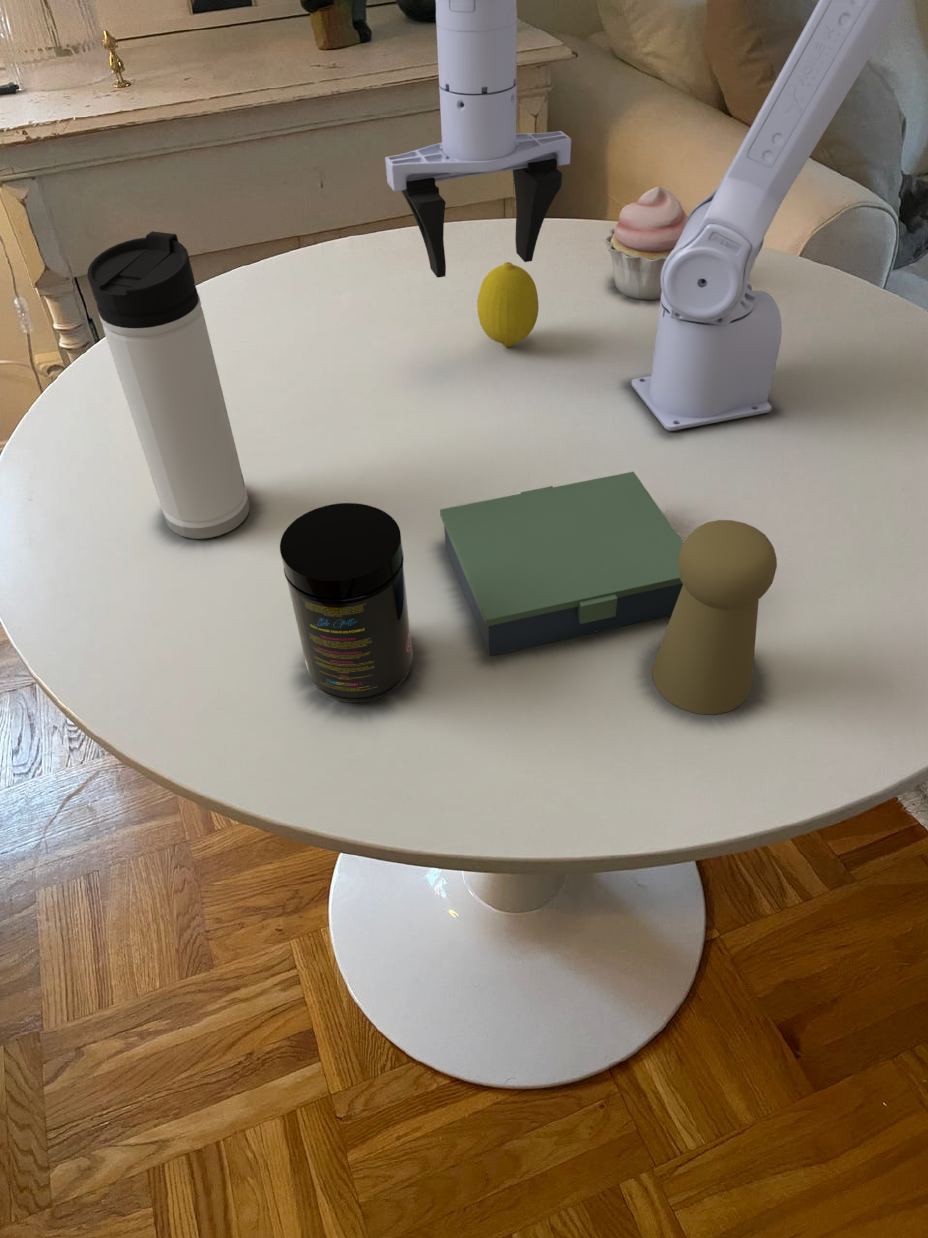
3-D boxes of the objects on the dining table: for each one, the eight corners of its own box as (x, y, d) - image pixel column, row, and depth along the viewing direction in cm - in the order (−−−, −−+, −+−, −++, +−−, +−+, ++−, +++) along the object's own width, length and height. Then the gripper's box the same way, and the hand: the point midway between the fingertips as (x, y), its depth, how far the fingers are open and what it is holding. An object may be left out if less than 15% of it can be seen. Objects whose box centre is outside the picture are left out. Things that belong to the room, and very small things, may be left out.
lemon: (532, 363, 85) (534, 278, 79) (473, 358, 86) (470, 274, 80) (541, 334, 89) (543, 251, 83) (484, 330, 89) (482, 247, 84)
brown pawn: (642, 645, 59) (662, 508, 52) (735, 637, 59) (769, 499, 52) (664, 718, 55) (690, 581, 47) (765, 710, 55) (807, 571, 47)
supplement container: (424, 695, 57) (412, 567, 50) (315, 718, 56) (286, 591, 49) (403, 620, 62) (389, 493, 54) (301, 640, 61) (273, 514, 53)
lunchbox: (627, 506, 69) (631, 467, 67) (699, 615, 61) (707, 576, 59) (440, 544, 67) (438, 505, 65) (488, 663, 59) (488, 624, 56)
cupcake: (598, 307, 92) (606, 203, 85) (601, 266, 99) (609, 167, 92) (695, 310, 91) (710, 205, 84) (691, 268, 98) (706, 168, 90)
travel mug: (267, 494, 72) (209, 235, 58) (224, 547, 68) (150, 281, 53) (196, 480, 73) (123, 225, 59) (150, 531, 69) (60, 269, 55)
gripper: (549, 57, 73) (544, 232, 82) (369, 81, 70) (385, 259, 79) (585, 81, 68) (575, 264, 77) (393, 108, 65) (408, 294, 74)
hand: (481, 264), depth 78 cm, fingers open, 7 cm apart
